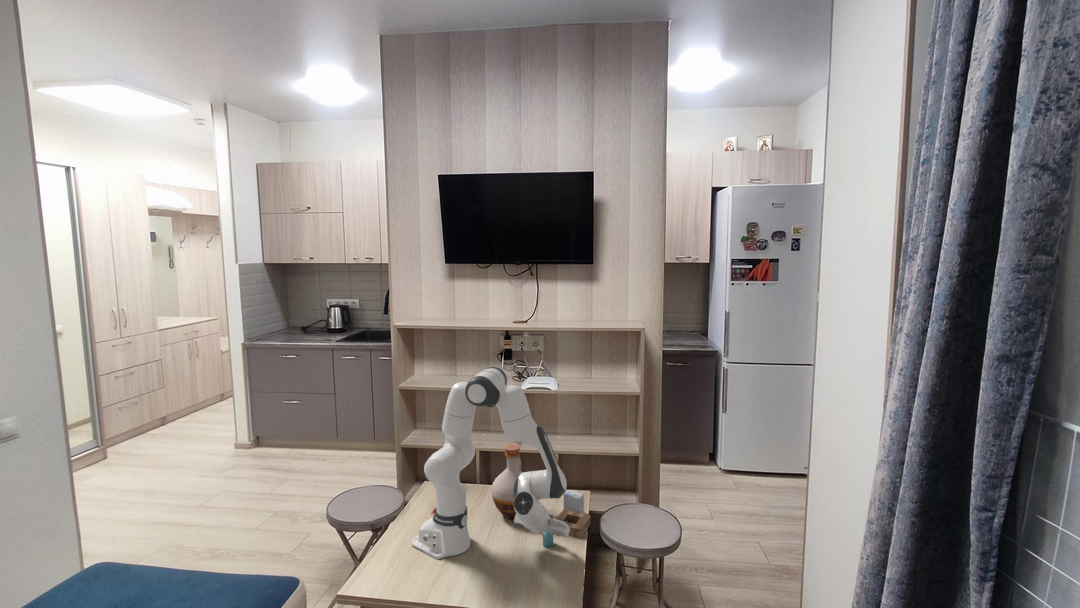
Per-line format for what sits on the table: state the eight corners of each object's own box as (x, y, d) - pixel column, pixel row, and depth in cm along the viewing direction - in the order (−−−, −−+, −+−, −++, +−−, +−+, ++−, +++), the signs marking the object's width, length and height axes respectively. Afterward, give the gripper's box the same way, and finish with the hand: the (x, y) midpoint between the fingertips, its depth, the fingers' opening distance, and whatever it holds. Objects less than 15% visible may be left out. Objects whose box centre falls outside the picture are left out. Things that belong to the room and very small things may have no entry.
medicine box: (584, 513, 203) (584, 493, 202) (579, 517, 199) (579, 498, 199) (568, 508, 207) (568, 489, 207) (563, 512, 203) (563, 493, 203)
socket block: (552, 531, 189) (552, 522, 188) (563, 517, 200) (563, 509, 199) (580, 538, 184) (580, 529, 183) (590, 523, 195) (590, 515, 194)
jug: (501, 499, 215) (501, 435, 213) (539, 505, 210) (539, 439, 208) (485, 521, 196) (484, 451, 194) (526, 528, 191) (526, 456, 189)
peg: (541, 545, 179) (541, 525, 178) (545, 540, 182) (545, 520, 182) (550, 548, 177) (550, 527, 177) (554, 542, 181) (555, 522, 180)
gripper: (566, 515, 167) (575, 528, 176) (515, 504, 175) (527, 516, 185) (561, 534, 163) (571, 546, 173) (509, 521, 172) (522, 533, 181)
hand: (548, 531), depth 179 cm, fingers open, 8 cm apart
